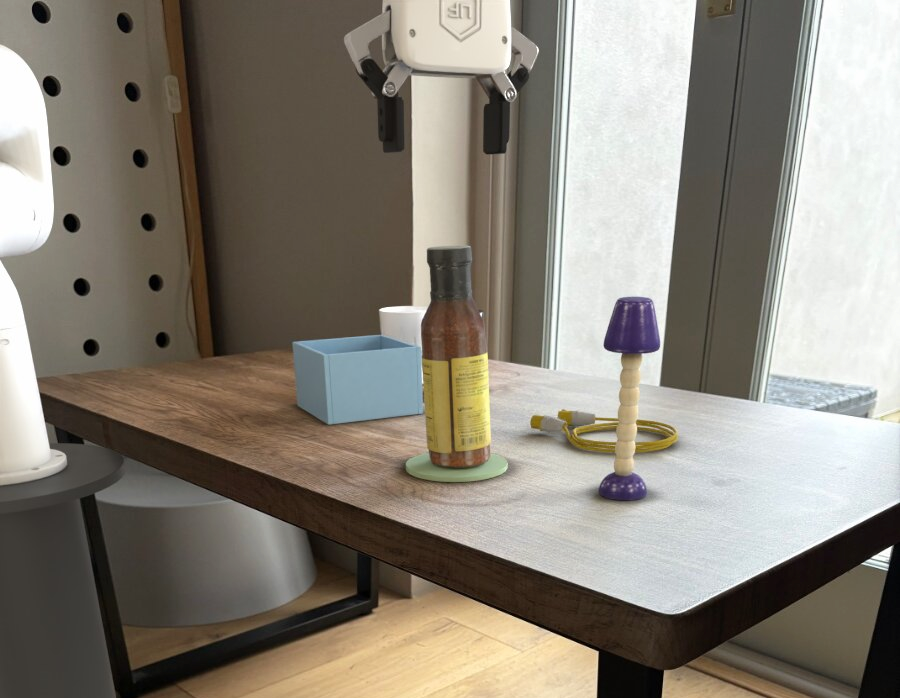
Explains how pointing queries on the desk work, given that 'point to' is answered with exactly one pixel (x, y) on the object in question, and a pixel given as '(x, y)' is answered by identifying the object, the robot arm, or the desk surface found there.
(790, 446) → the desk surface
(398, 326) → the white cup
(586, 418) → the extension cord
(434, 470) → the mat
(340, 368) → the case
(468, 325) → the sauce bottle
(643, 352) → the toy lamp
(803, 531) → the desk surface
